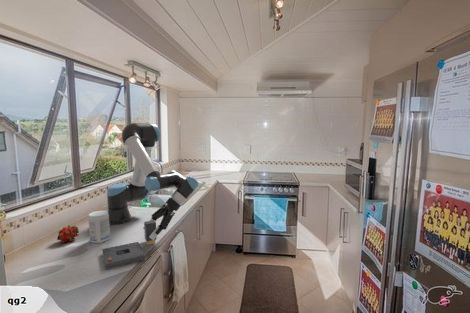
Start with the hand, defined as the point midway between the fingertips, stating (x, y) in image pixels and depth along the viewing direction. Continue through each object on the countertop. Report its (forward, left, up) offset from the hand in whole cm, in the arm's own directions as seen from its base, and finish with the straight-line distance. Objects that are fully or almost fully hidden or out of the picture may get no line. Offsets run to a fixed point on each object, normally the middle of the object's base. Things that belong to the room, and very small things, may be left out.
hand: (147, 234), depth 134 cm
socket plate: (-7, -14, -5) cm, 16 cm away
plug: (+1, +1, -5) cm, 5 cm away
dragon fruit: (-43, +4, -5) cm, 44 cm away
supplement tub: (-27, +5, -5) cm, 28 cm away
